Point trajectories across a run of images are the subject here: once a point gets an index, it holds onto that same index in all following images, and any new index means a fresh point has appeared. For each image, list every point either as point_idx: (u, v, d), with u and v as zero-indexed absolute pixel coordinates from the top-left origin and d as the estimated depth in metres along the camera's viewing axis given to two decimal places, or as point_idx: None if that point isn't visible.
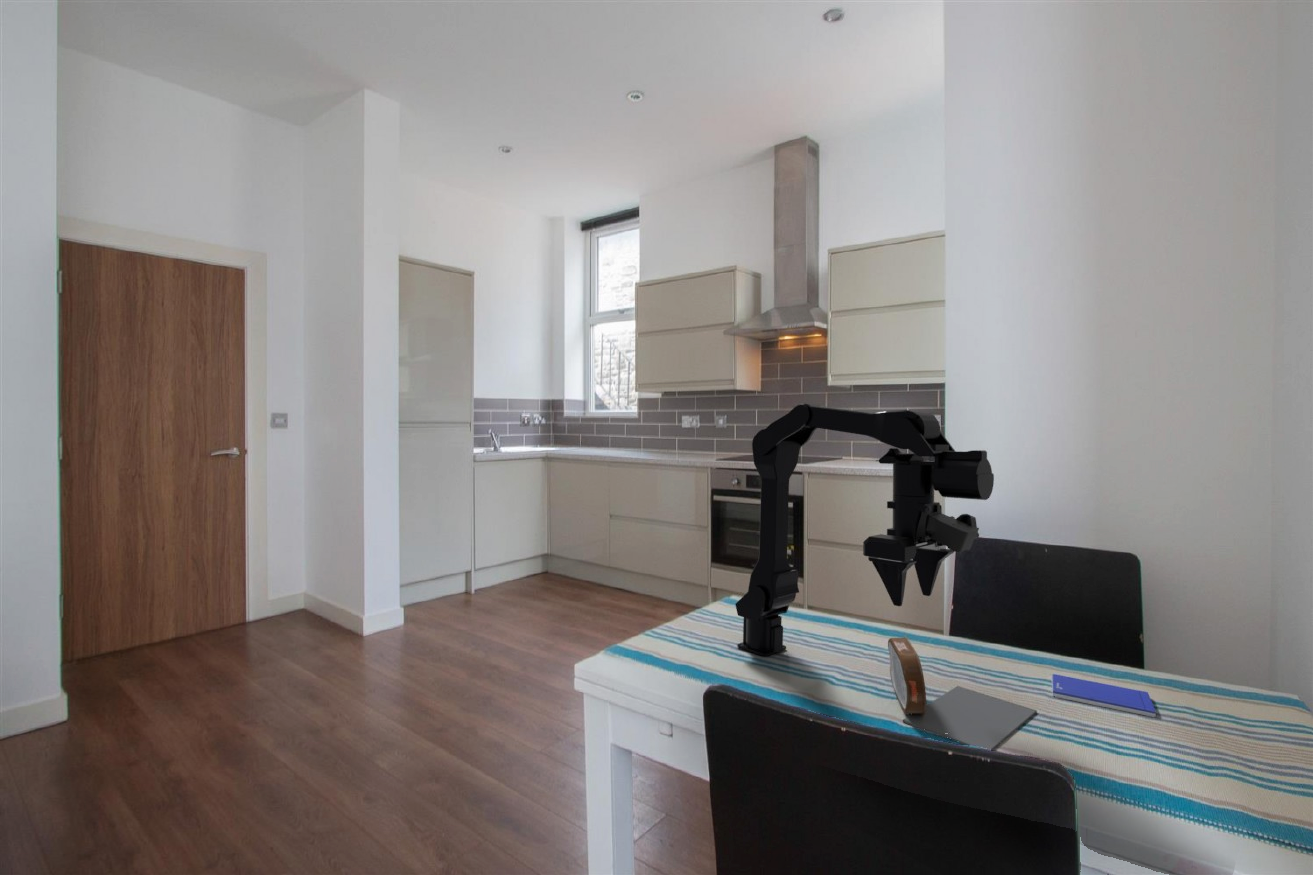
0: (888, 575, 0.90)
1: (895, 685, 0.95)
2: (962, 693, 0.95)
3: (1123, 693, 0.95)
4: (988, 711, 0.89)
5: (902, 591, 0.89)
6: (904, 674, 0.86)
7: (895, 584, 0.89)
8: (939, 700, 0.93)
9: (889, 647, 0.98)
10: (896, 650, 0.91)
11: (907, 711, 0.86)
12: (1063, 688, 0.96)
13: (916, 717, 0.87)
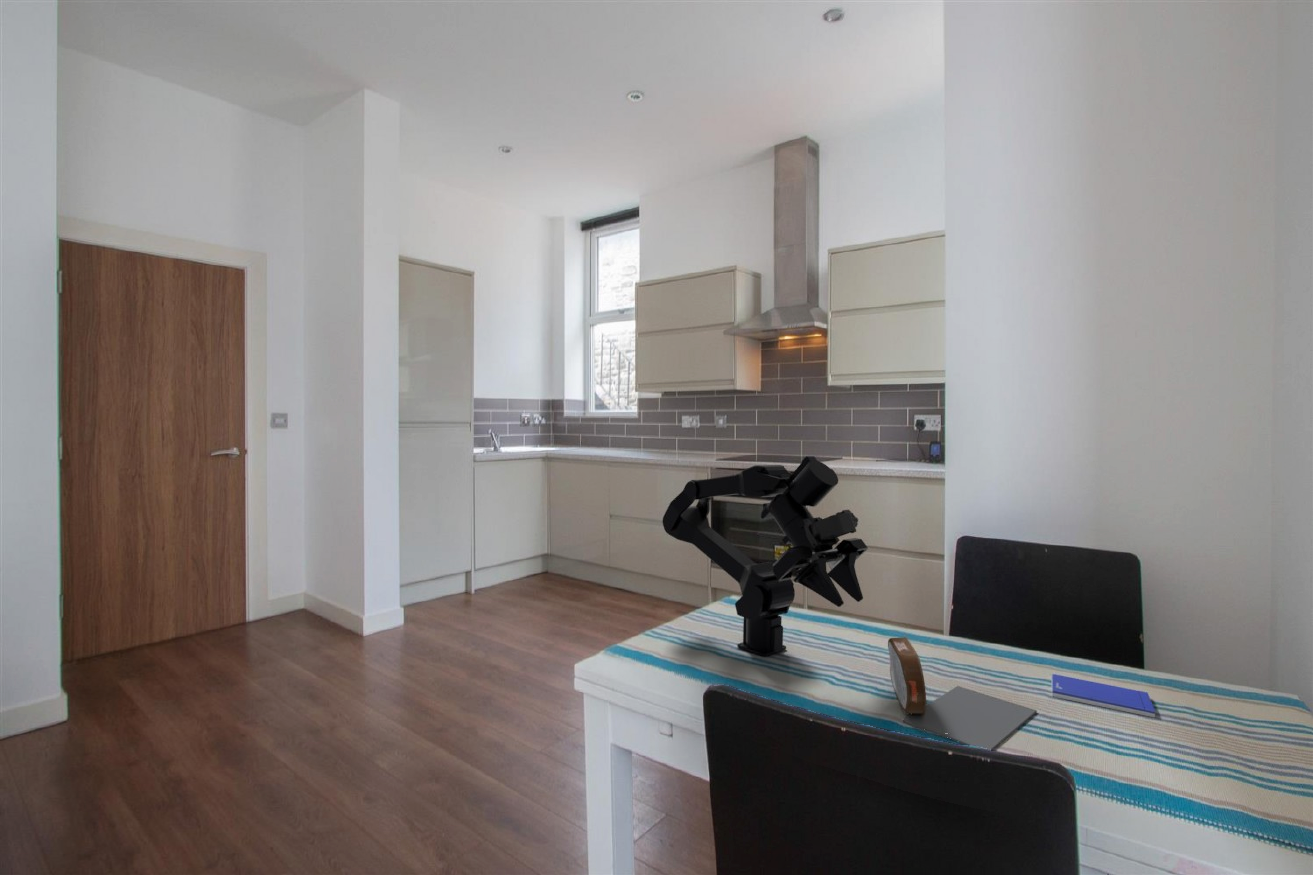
0: (817, 585, 1.00)
1: (895, 685, 0.95)
2: (962, 693, 0.95)
3: (1123, 693, 0.95)
4: (988, 711, 0.89)
5: (835, 589, 0.98)
6: (904, 674, 0.86)
7: (825, 587, 0.99)
8: (939, 700, 0.93)
9: (889, 647, 0.98)
10: (896, 650, 0.91)
11: (907, 711, 0.86)
12: (1063, 688, 0.96)
13: (916, 717, 0.87)
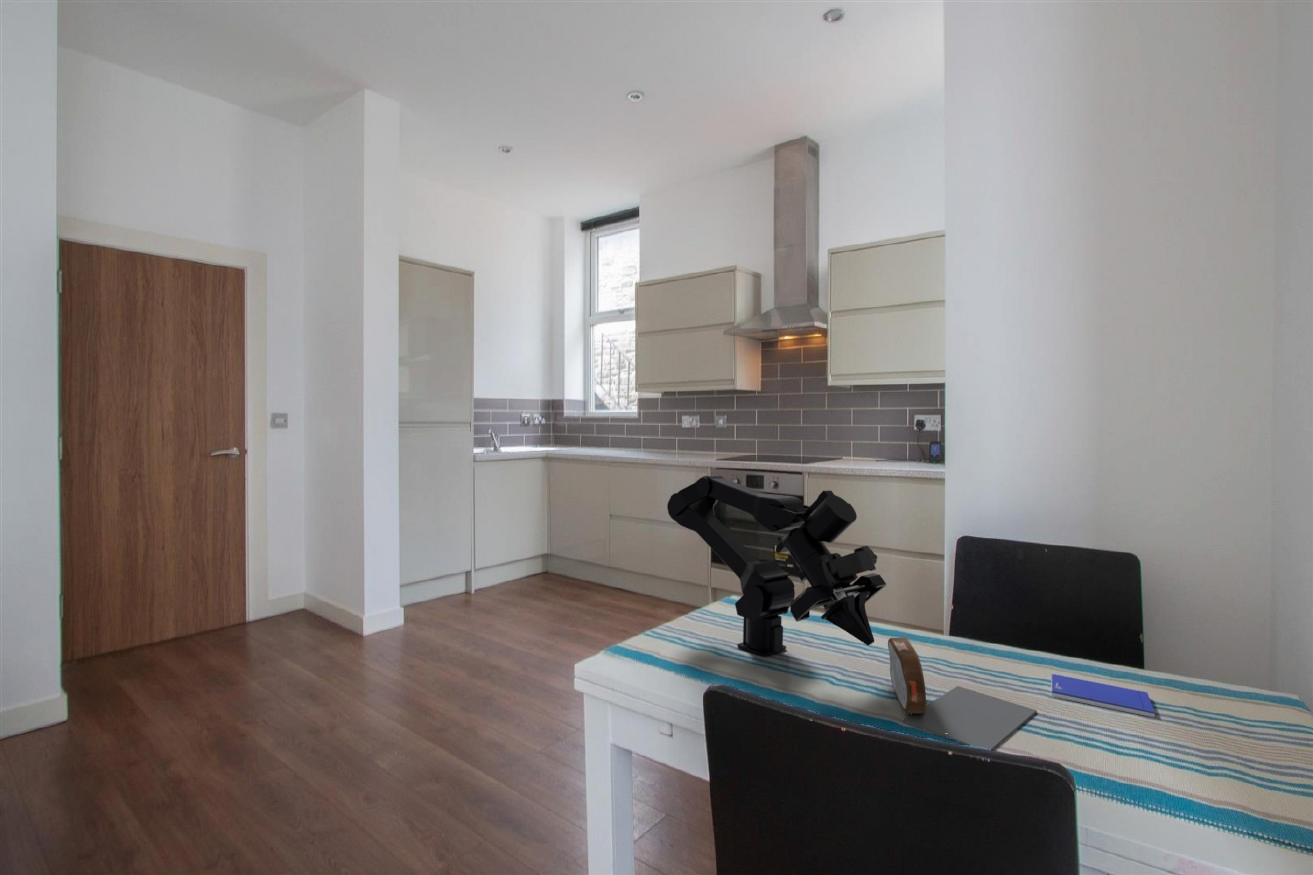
0: (845, 622, 0.98)
1: (895, 685, 0.95)
2: (962, 693, 0.95)
3: (1122, 693, 0.95)
4: (988, 711, 0.89)
5: (864, 627, 0.97)
6: (904, 674, 0.86)
7: (854, 625, 0.97)
8: (939, 700, 0.93)
9: (889, 647, 0.98)
10: (896, 650, 0.91)
11: (907, 711, 0.86)
12: (1062, 688, 0.96)
13: (916, 717, 0.87)
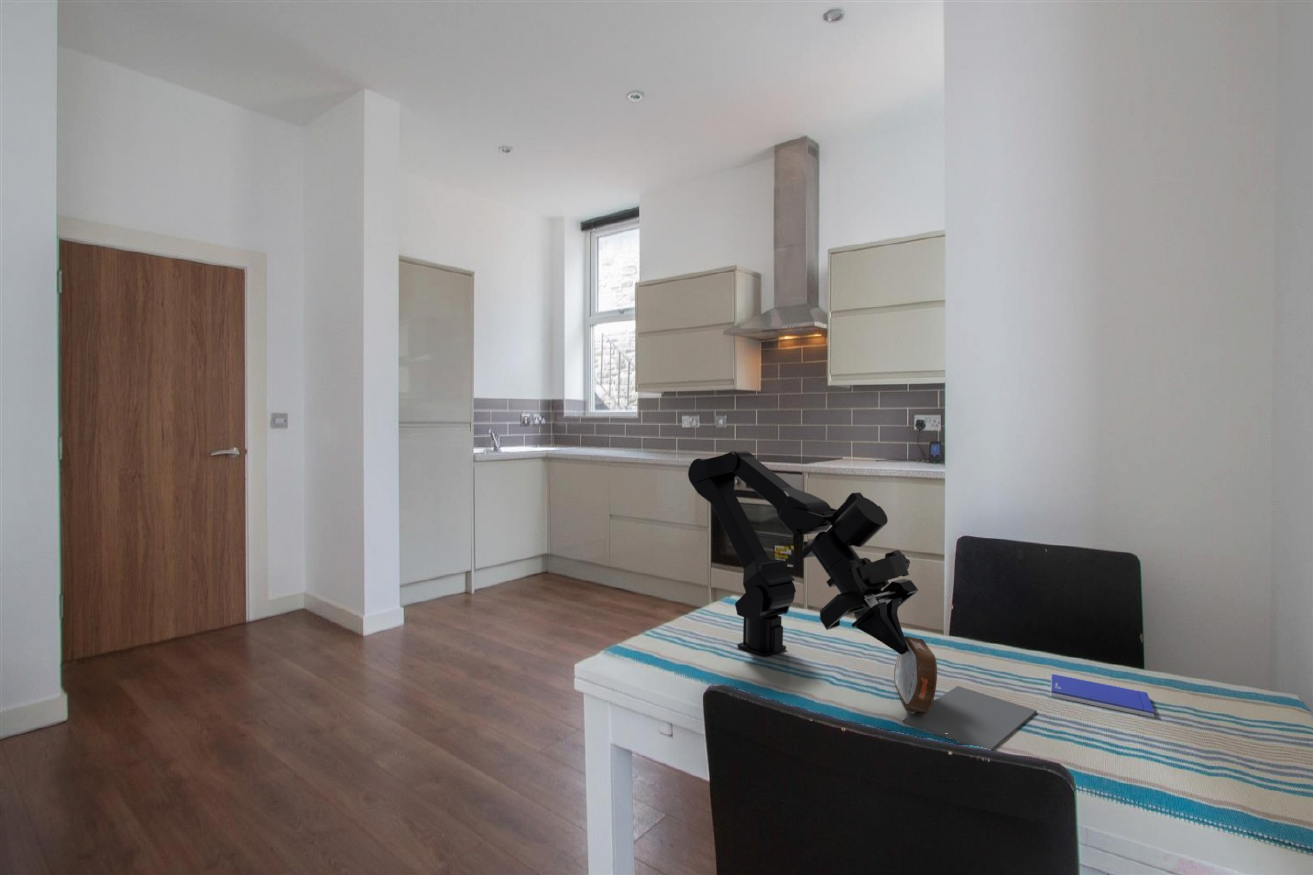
0: (877, 630, 0.94)
1: (898, 681, 0.95)
2: (962, 693, 0.95)
3: (1122, 693, 0.95)
4: (988, 711, 0.89)
5: (897, 636, 0.92)
6: (918, 670, 0.86)
7: (887, 633, 0.93)
8: (939, 700, 0.93)
9: None
10: (912, 647, 0.90)
11: (910, 706, 0.86)
12: (1062, 688, 0.96)
13: (916, 717, 0.87)
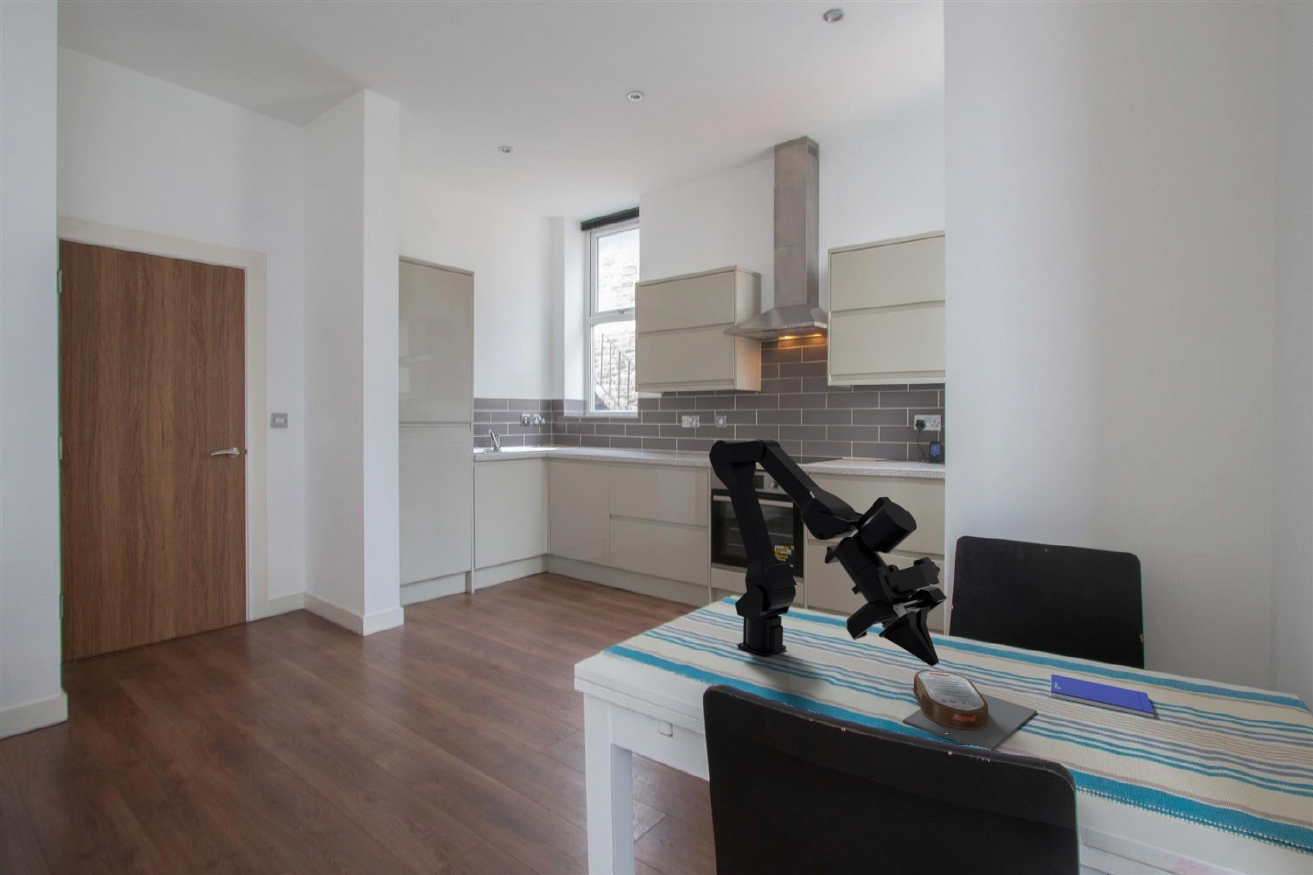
0: (906, 641, 0.90)
1: (923, 678, 0.94)
2: None
3: (1121, 694, 0.95)
4: (988, 711, 0.89)
5: (927, 647, 0.89)
6: (979, 710, 0.84)
7: (916, 644, 0.89)
8: None
9: (953, 675, 0.96)
10: (981, 696, 0.88)
11: (936, 704, 0.85)
12: (1061, 688, 0.96)
13: (916, 717, 0.87)
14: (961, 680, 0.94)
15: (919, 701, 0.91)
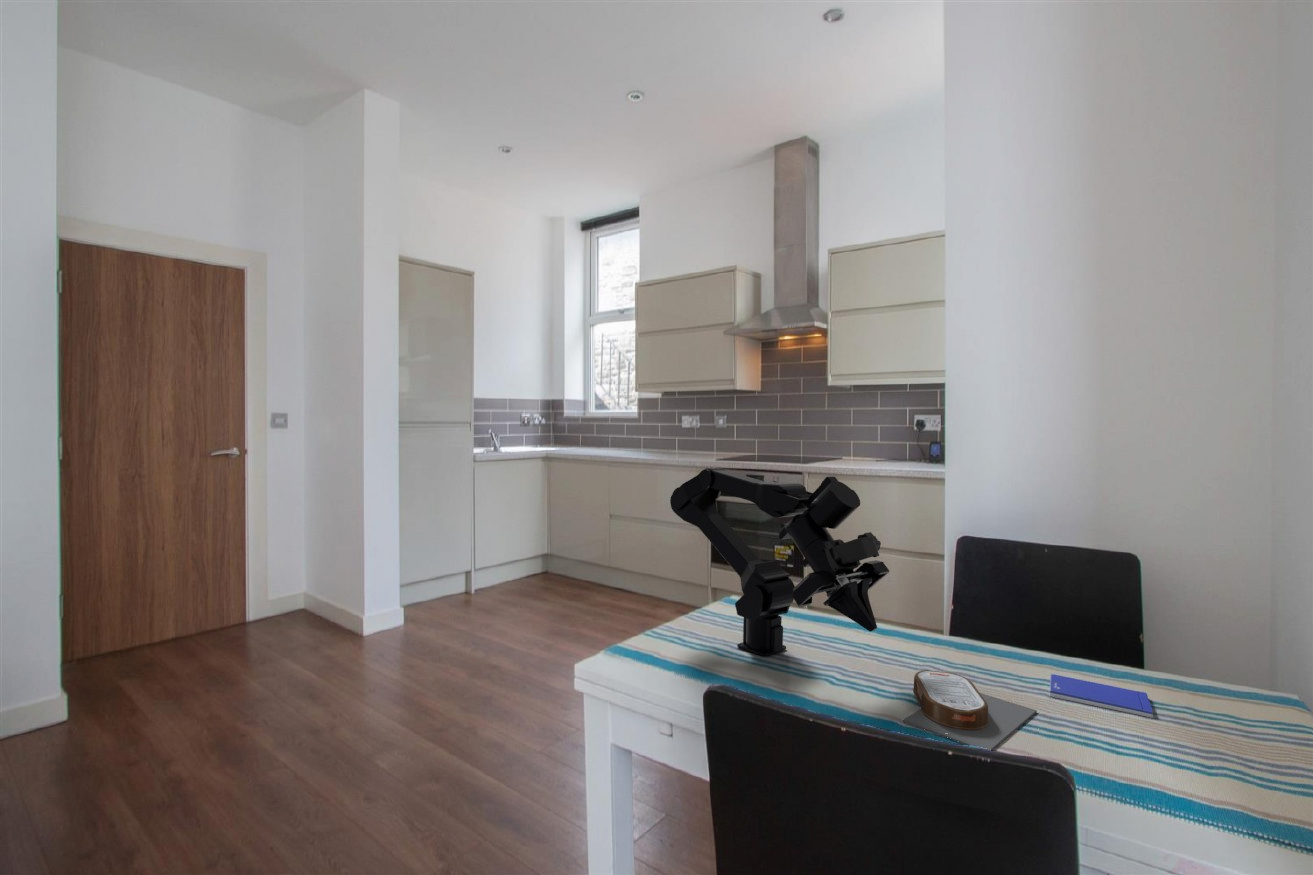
0: (848, 608, 0.98)
1: (923, 678, 0.94)
2: None
3: (1121, 694, 0.95)
4: (988, 711, 0.89)
5: (866, 614, 0.96)
6: (979, 710, 0.84)
7: (857, 611, 0.97)
8: None
9: (953, 675, 0.96)
10: (981, 696, 0.88)
11: (936, 704, 0.85)
12: (1061, 688, 0.96)
13: (916, 717, 0.87)
14: (961, 680, 0.94)
15: (919, 701, 0.91)
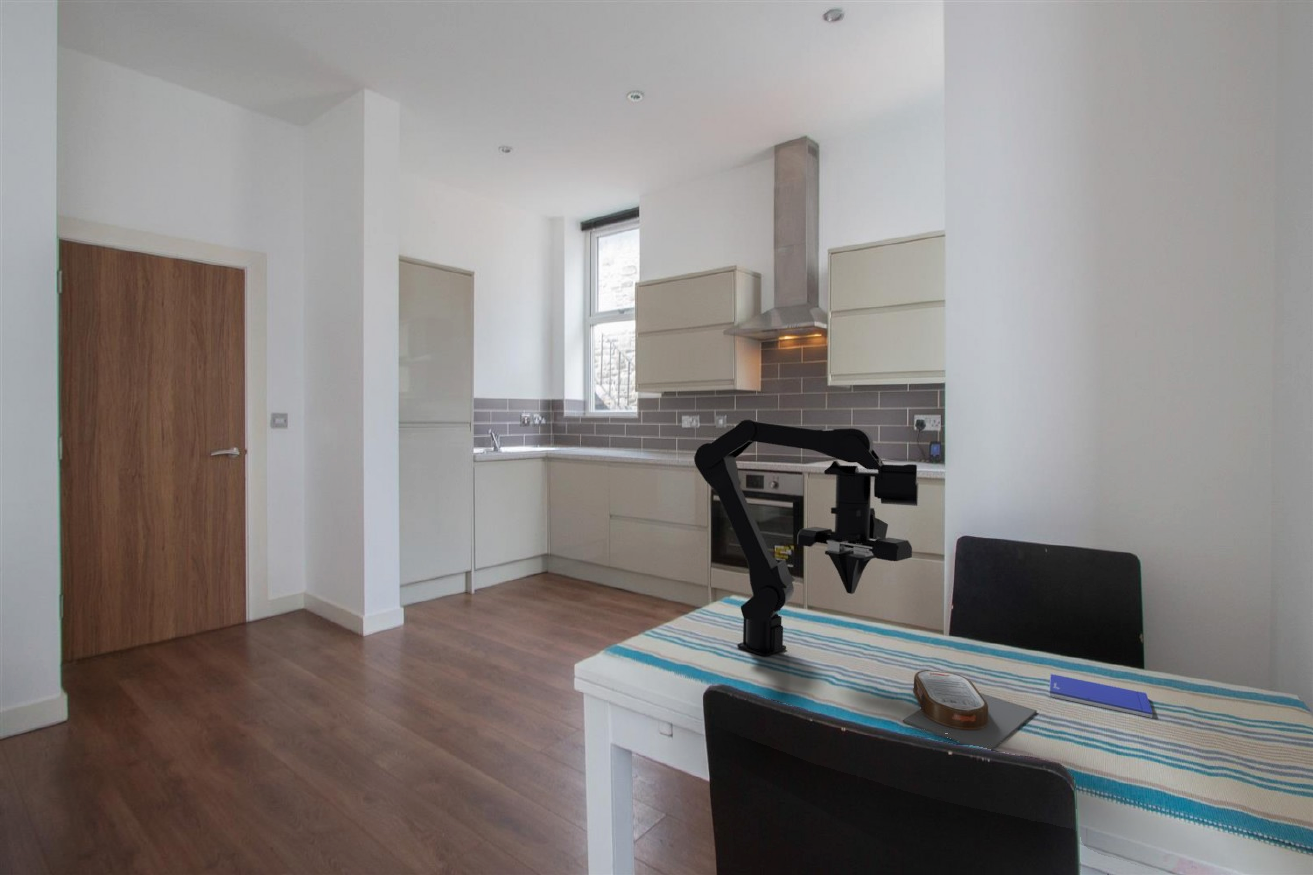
0: (856, 569, 1.06)
1: (923, 678, 0.94)
2: None
3: (1121, 694, 0.95)
4: (988, 711, 0.89)
5: None
6: (979, 710, 0.84)
7: (858, 575, 1.07)
8: None
9: (953, 675, 0.96)
10: (981, 696, 0.88)
11: (936, 704, 0.85)
12: (1060, 688, 0.96)
13: (916, 717, 0.87)
14: (961, 680, 0.94)
15: (919, 701, 0.91)
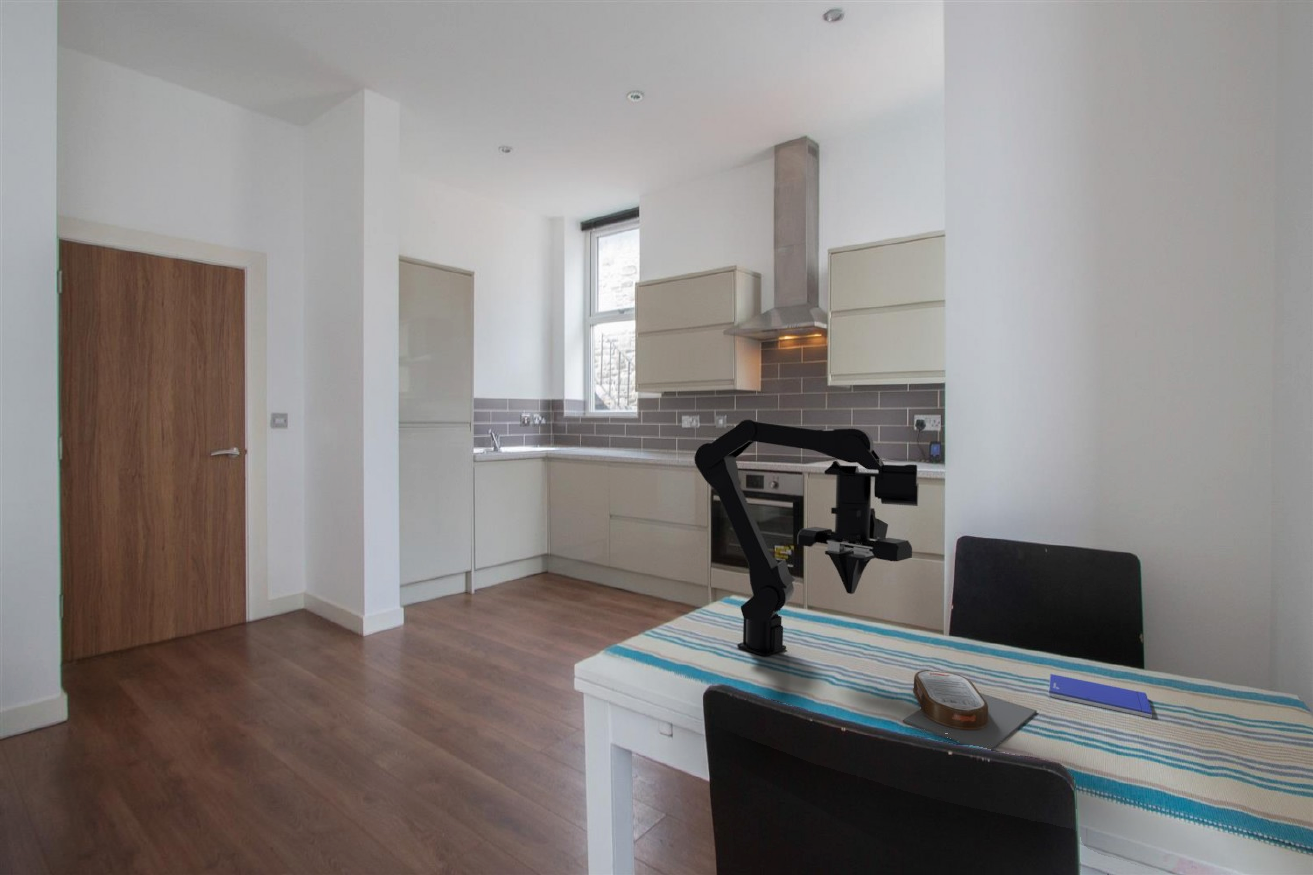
0: (856, 569, 1.06)
1: (923, 678, 0.94)
2: None
3: (1120, 694, 0.95)
4: (988, 711, 0.89)
5: None
6: (979, 710, 0.84)
7: (858, 575, 1.07)
8: None
9: (953, 675, 0.96)
10: (981, 696, 0.88)
11: (936, 704, 0.85)
12: (1060, 688, 0.96)
13: (916, 717, 0.87)
14: (961, 680, 0.94)
15: (919, 701, 0.91)
